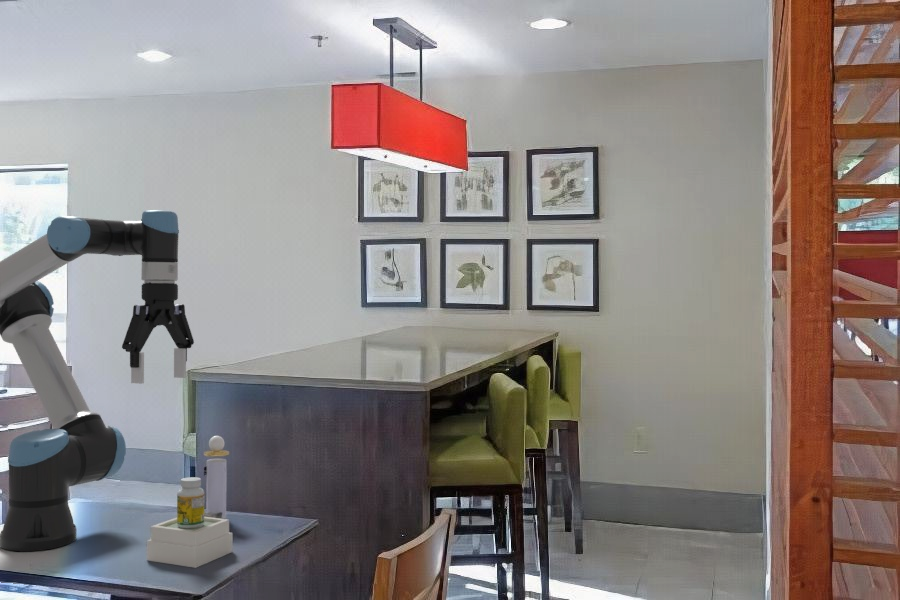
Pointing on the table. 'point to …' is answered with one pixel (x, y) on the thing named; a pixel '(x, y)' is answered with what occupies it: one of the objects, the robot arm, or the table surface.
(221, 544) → the display pedestal
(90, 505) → the table surface
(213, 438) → the perfume bottle
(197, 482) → the supplement bottle
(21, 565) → the table surface
